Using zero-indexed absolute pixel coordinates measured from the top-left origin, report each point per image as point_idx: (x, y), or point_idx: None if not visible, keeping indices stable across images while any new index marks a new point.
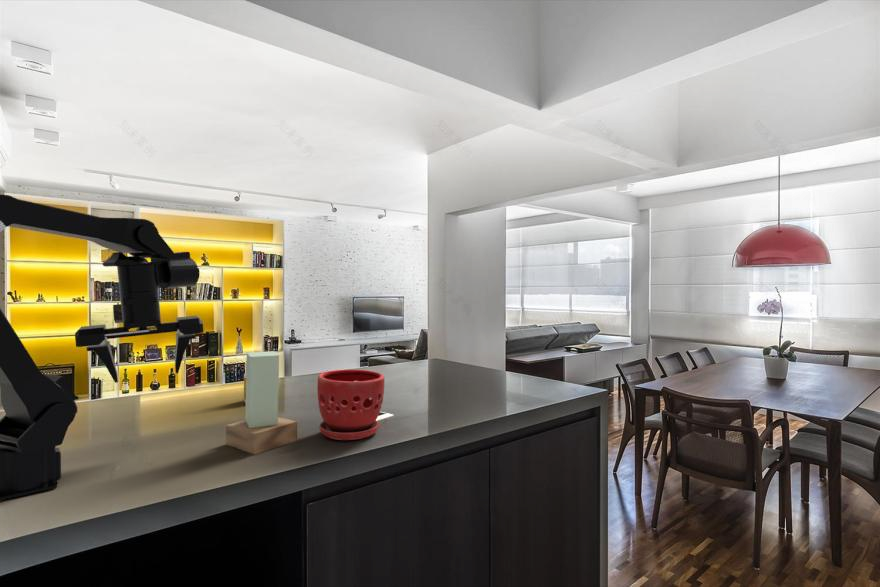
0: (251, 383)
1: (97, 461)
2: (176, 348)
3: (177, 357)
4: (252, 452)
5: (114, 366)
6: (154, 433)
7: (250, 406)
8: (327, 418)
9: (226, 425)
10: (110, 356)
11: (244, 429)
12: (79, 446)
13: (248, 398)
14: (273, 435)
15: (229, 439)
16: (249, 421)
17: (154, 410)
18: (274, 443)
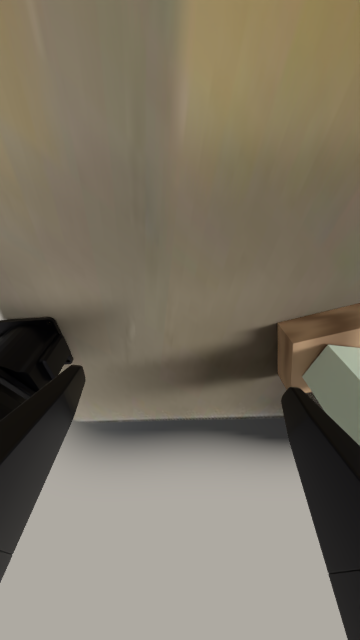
0: None
1: (100, 287)
2: (348, 552)
3: (308, 494)
4: (278, 371)
5: (48, 461)
6: (209, 134)
7: (324, 409)
8: None
9: (292, 344)
10: (10, 554)
11: (295, 376)
12: (33, 133)
13: (339, 412)
14: None
15: (281, 335)
16: (308, 385)
17: None
18: None
